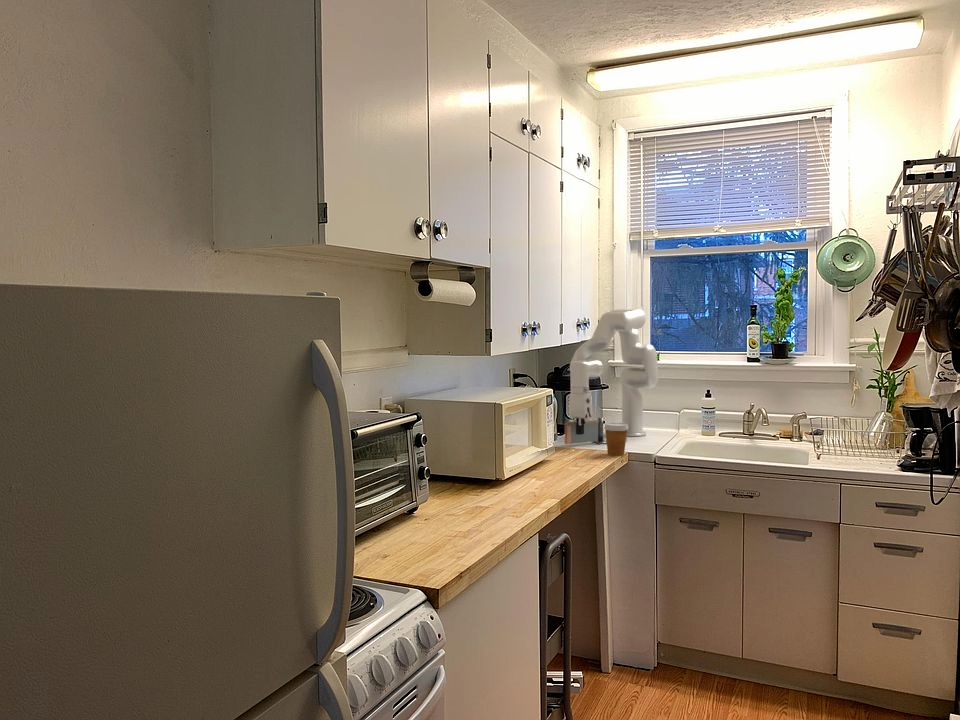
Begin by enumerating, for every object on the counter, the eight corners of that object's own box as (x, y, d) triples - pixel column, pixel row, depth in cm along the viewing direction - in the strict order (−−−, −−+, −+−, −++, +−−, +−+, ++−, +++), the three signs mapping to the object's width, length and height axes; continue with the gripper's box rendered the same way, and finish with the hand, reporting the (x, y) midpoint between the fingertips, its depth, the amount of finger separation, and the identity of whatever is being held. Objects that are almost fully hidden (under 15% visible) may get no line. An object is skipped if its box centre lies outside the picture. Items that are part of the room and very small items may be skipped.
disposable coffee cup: (617, 457, 284) (617, 426, 283) (598, 453, 291) (599, 423, 291) (633, 454, 290) (633, 424, 289) (614, 451, 297) (615, 422, 297)
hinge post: (588, 442, 319) (589, 417, 318) (601, 441, 322) (601, 416, 322) (599, 445, 313) (599, 419, 312) (611, 443, 316) (612, 418, 316)
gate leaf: (595, 440, 318) (595, 419, 317) (598, 441, 316) (598, 420, 315) (564, 443, 310) (564, 422, 309) (567, 444, 308) (567, 422, 307)
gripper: (598, 391, 302) (599, 435, 303) (574, 388, 314) (574, 431, 315) (585, 392, 298) (585, 437, 299) (560, 389, 310) (561, 432, 311)
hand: (580, 434), depth 307 cm, fingers closed
